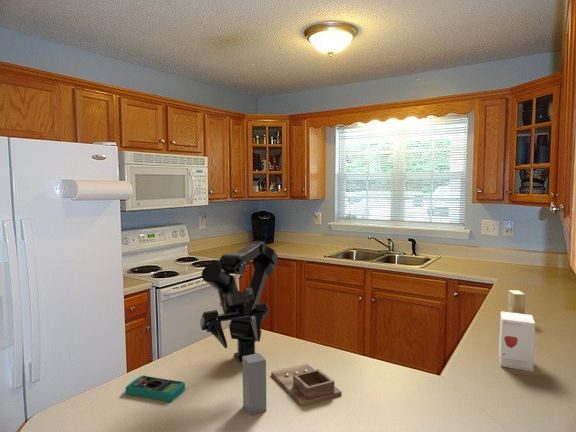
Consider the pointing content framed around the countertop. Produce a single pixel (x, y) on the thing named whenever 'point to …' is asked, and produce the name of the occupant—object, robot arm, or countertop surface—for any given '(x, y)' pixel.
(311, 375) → the walnut holder
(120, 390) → the countertop surface
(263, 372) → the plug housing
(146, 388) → the digital multimeter
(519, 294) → the skincare box
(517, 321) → the supplement box
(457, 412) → the countertop surface
